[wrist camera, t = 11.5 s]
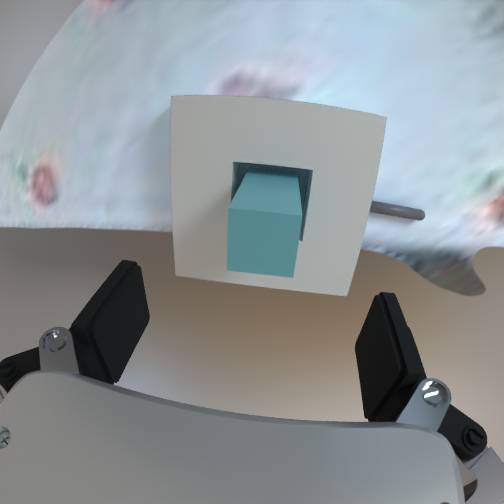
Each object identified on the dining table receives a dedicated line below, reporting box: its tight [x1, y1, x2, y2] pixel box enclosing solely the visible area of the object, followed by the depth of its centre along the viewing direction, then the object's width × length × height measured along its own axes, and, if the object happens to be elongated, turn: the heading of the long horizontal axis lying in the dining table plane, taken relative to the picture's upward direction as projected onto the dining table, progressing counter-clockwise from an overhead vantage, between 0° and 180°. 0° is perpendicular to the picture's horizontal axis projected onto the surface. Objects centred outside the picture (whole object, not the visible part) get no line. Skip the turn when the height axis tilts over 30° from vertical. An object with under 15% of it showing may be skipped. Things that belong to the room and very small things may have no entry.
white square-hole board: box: [170, 95, 425, 296], centre depth 24 cm, size 22×16×3 cm
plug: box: [227, 167, 303, 278], centre depth 21 cm, size 4×4×10 cm
